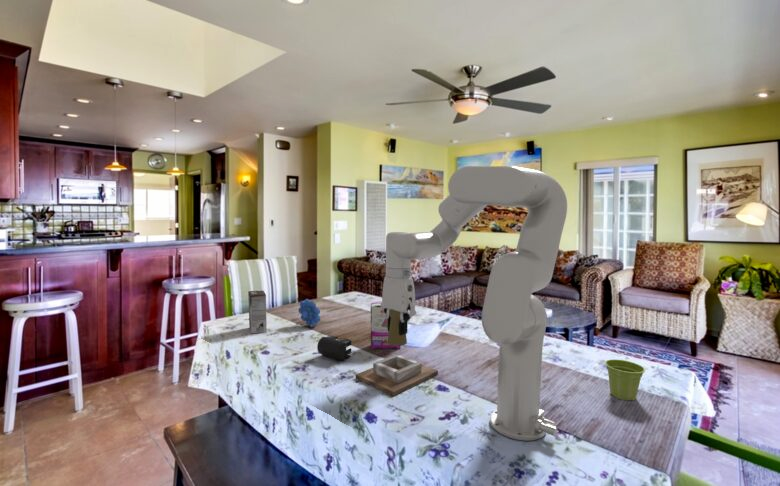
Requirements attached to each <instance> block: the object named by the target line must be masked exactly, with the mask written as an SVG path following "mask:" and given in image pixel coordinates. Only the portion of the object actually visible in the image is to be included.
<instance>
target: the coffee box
mask: <svg viewBox="0 0 780 486" xmlns="http://www.w3.org/2000/svg"><path fill="white" fill-rule="evenodd" d="M248 322H249V324H248V325H249V331H250V334H258V333H259V334H260V333H266V332H267V294H266V293H265V290H251V291H250V290H249V291H248Z"/></svg>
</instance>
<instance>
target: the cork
mask: <svg viewBox="0 0 780 486" xmlns="http://www.w3.org/2000/svg"><path fill="white" fill-rule="evenodd" d="M389 315H390V317H391V321H390V328H389V335H388V342H387V343H388V344H390V345H394V346H400V347H401V346H405V345H407V343H408V339H407V338H408V337H407V334H404V335H399V322H401V320H400V312H398V311H396V310H393V309H390V310H389ZM404 316H405V313H404Z"/></svg>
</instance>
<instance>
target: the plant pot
mask: <svg viewBox="0 0 780 486" xmlns="http://www.w3.org/2000/svg"><path fill="white" fill-rule="evenodd" d="M604 364H605V366H606V370H607V373H608V381H609V382H608V383H609V391H610V393H609V394H611V395H612V396H613V397H614V398H616V399H617V400H618V399H619V400H622V401H635V400H636V399H637V394H638V390H639V387H640V383H641V378H642V377H643V374H644V373H645V372H646V368H645V367H644V366H642V365H640V364H638V363H636V362H633V361H628V360H624V359H607V360H605V362H604Z"/></svg>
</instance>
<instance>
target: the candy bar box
mask: <svg viewBox="0 0 780 486" xmlns="http://www.w3.org/2000/svg"><path fill="white" fill-rule="evenodd" d="M381 303H382V302H371V303H370V349H371V350H372V349H373V350H375V349H376V350H384V349H385V350H391V349H395V350H396V349H401V346H394V345H390V344H388V343H387V342H388V335H389V332H388V319H387V318H386V314H385V312H384V310H383V309H382V308H381V306H380V305H381Z"/></svg>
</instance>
